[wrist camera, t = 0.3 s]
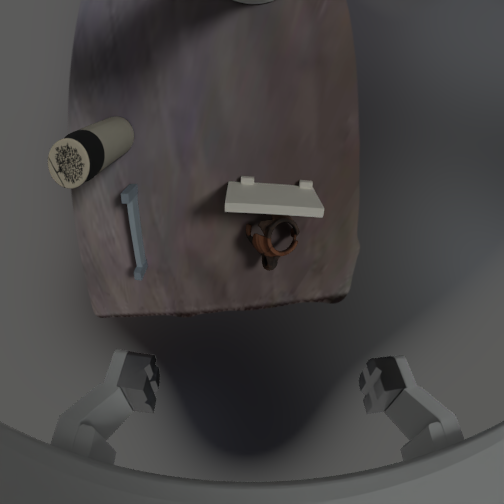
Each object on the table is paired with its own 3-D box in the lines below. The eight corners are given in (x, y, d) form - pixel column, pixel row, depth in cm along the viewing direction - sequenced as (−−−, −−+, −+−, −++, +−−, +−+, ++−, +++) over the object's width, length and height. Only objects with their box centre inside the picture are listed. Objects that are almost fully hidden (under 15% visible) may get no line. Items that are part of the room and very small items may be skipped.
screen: (228, 175, 54) (225, 195, 45) (313, 181, 55) (325, 202, 46) (228, 195, 56) (224, 218, 48) (310, 200, 57) (321, 223, 48)
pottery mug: (241, 209, 58) (262, 216, 51) (281, 205, 63) (305, 211, 56) (243, 266, 62) (262, 280, 55) (281, 258, 66) (303, 270, 59)
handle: (129, 184, 54) (120, 193, 50) (137, 184, 54) (128, 193, 50) (141, 266, 65) (135, 279, 61) (147, 266, 65) (141, 280, 61)
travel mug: (127, 110, 46) (78, 128, 31) (139, 148, 50) (98, 180, 35) (93, 125, 47) (39, 149, 32) (105, 161, 51) (58, 197, 36)
